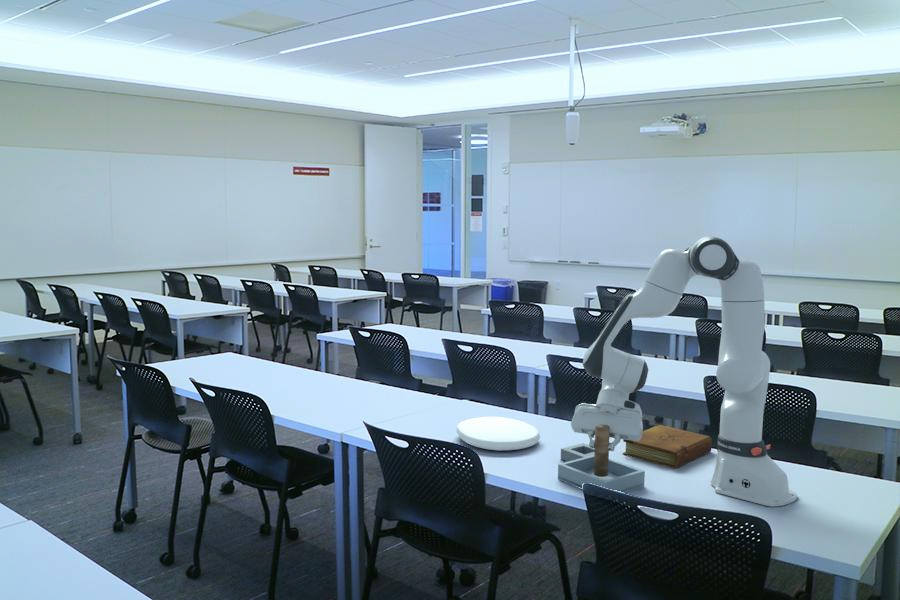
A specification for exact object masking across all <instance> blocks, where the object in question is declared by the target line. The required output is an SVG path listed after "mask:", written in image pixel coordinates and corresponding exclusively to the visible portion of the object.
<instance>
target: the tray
mask: <svg viewBox="0 0 900 600" xmlns="http://www.w3.org/2000/svg"><path fill="white" fill-rule="evenodd" d="M557 465H558V466H557V480H558V479H559V481H561V482H564V483H566V484H568V483H569V485H570V484H571V485H570V486H573V485H574V486H573V487H575V486H577V487H576V488H578V487H580V488H582V484H583V483H592V484H595V485H598V486H602V487H605V488H608V489H612V490H617V491H621V492H625V493H624V494H626V493H628V491H629V492H631V491H636V490H639V489H641V488H644V487H645V478H646V477H645V475H646V474H645V473H646V471H645V470H643V469H640V468H637V467H634V466H631V465H629V464H625V463H623V462H620V461H617V460H615V459H612V458H609V462H608V476H606V477H598V476H595V475H594V455H591V456H587V457H584V458H580V459H576V460H572V461H568V462H566V461H564V462H561V463H558V464H557ZM580 488H579V489H580Z"/></svg>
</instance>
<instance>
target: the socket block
mask: <svg viewBox="0 0 900 600" xmlns="http://www.w3.org/2000/svg"><path fill="white" fill-rule="evenodd" d="M594 450H595V448H590V447H589V444H586V443H584V442H583V443H578V444H574V445H571V446H567V447H563V448H560V460H561V459H562V460H561V461H563V460H565V461H564V462H566V461H567V462H568V461H572V460H576V459H580V458H584V457H587V456H591V455H594Z"/></svg>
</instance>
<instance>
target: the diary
mask: <svg viewBox="0 0 900 600" xmlns="http://www.w3.org/2000/svg"><path fill="white" fill-rule="evenodd" d="M712 439H713V438H712V437H711V436H709V435H707V434H706V435H705V434H701V433H696V432H694V431H693V432H692V431H688V430H684V429H679V428H676V427H671V426H666V425H662V424H658V425H655V426H652V427H650V428H648V429H645V430H643V433H642V438H641V440H639V441H632V440H625V439H622V443H625V452H622V455H623V454H624V456H627V455H628V457H630V456H631V458H634V457H635V459H638V458H639V460H642V459H643V460H642V461H646V462H650V463H653V462H654V464H657V465H661V466H664V465H665V466H664V467H669V468H673V469H678V468H680V467H682V466H684V465H686V464H688V463H691V462H693V461H694V460H696V459H699V458H701V457H702V456H704V455H706V454H708V453H711V451H712V444H713V443H712V442H713V441H712Z"/></svg>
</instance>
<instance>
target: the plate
mask: <svg viewBox="0 0 900 600" xmlns="http://www.w3.org/2000/svg"><path fill="white" fill-rule="evenodd" d="M455 429H456V433H457V435H458V437H459V438H460V439H461V440H462V441H463V442H465V443H466V444H469V445H471V446H473V447H476V448H479V449H485V450H490V451H497V452H499V451H513V450H514V451H515V450H521V449H526V448H529V447H532V446H534V445H536V444H537V443H538V442H539V441H540V439H541V436H540V432H539V431H538V429H537V428H536V427H534V426H533V425H532V424H529V423H527V422H525V421H522V420H518V419H515V418H509V417H503V416H482V417H481V416H480V417H474V418H473V417H472V418H470V419H465V420H463V421H461V422H459V423H458V424H457V426H456V428H455Z"/></svg>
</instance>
